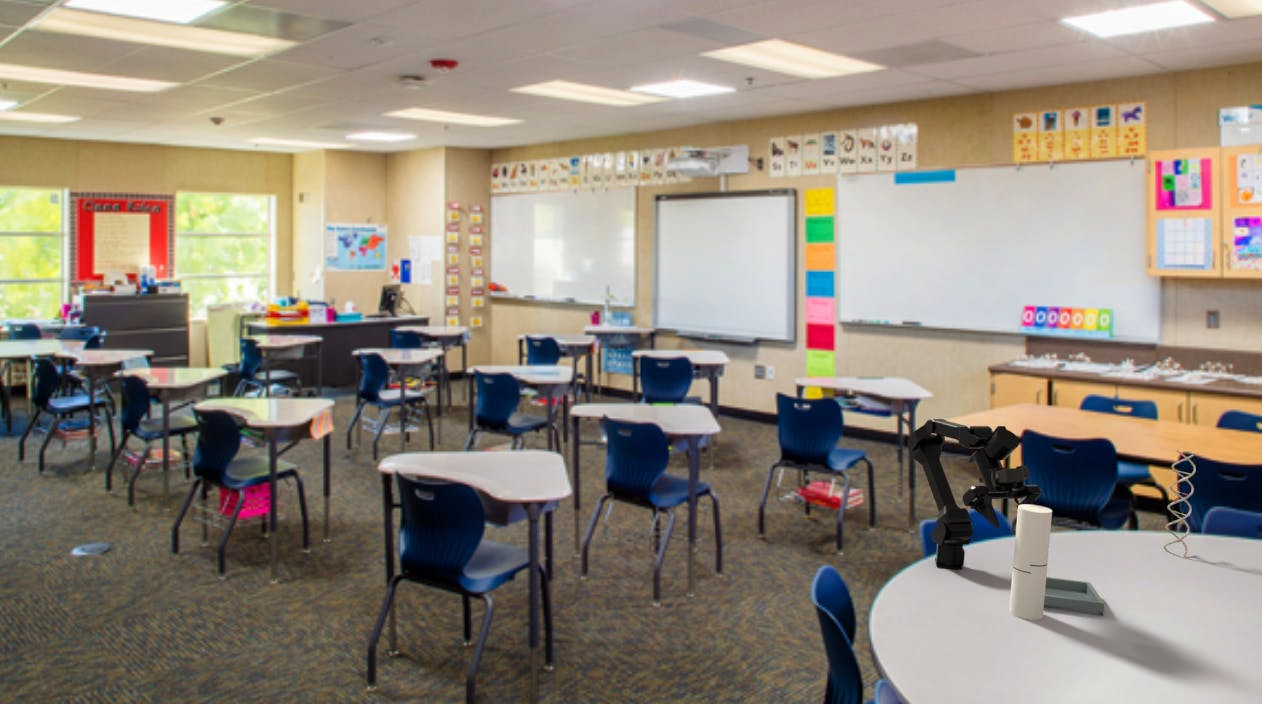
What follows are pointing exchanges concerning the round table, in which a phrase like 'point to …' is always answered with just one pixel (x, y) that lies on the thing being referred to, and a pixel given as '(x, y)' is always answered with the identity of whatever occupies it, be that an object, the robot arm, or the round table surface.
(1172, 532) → the dna model
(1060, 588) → the tray
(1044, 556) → the cylindrical container
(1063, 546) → the round table surface
